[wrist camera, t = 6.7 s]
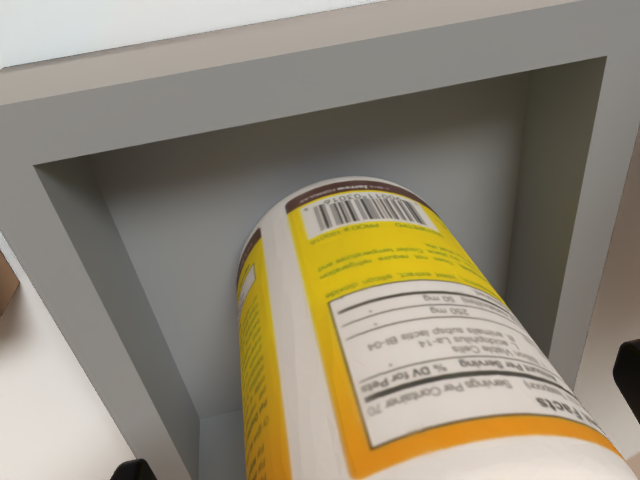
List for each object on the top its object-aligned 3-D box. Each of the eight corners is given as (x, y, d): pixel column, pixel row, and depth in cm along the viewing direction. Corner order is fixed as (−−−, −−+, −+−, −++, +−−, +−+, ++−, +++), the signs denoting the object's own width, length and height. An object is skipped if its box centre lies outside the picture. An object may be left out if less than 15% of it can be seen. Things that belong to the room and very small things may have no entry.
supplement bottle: (316, 366, 15) (439, 932, 7) (189, 254, 12) (115, 1009, 4) (474, 267, 14) (861, 793, 6) (375, 118, 11) (872, 751, 3)
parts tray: (568, -31, 11) (674, -17, 8) (515, 349, 17) (565, 420, 15) (4, 67, 10) (-67, 117, 7) (178, 429, 17) (172, 519, 14)
